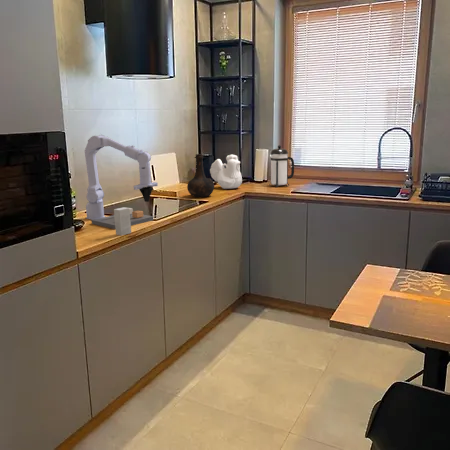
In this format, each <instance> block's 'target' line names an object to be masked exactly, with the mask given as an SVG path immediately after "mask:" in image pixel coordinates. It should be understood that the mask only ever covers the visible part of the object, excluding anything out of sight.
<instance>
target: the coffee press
mask: <svg viewBox="0 0 450 450" xmlns="http://www.w3.org/2000/svg"><path fill="white" fill-rule="evenodd" d="M281 147H282V146H281V145H280V144H279V145H278V146H277V148H273V149H271V151H270V155H269V157H270V183H269V186H270V187H271V186H275V188H278V187H279V186H286V187H287V188H288V187H289V186H290V184H289V182H288V180H289V179H293V177H294V175H295V160H294V159H293V157H292V156H288V154H289V151H288V150H287V149H286V148H281ZM289 160H290V161H291V167H290V168H291V169H290V170H291V171H290V172H291V174H290V175H289V176H288V173H289V172H288V170H289V168H288V167H289V165H288V164H289Z"/></svg>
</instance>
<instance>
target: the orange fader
mask: <svg viewBox="0 0 450 450" xmlns="http://www.w3.org/2000/svg"><path fill="white" fill-rule="evenodd" d="M143 215H144V211H143V210H133V212H132V217H135V218H139V217H143Z"/></svg>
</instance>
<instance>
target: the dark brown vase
mask: <svg viewBox="0 0 450 450" xmlns="http://www.w3.org/2000/svg"><path fill="white" fill-rule="evenodd" d="M204 157H205V156H203V154H202V153H196V154H195V157H193V158H194V159H195V170H194V171H195V172H194V176H193V177H192V179H190V180H189V181H188V183H187V186H186V187H187V191H188V193H189V195H191V196H192V197H194V198H207V197H209V196H211V195H212V194H213V192H214V189H215V184H214V181H213V180H212V179H211V178H210V177H209V178H207V177H206V175H205V171H204V170H205V168H204V162H203V161H204V160H203V158H204Z"/></svg>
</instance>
